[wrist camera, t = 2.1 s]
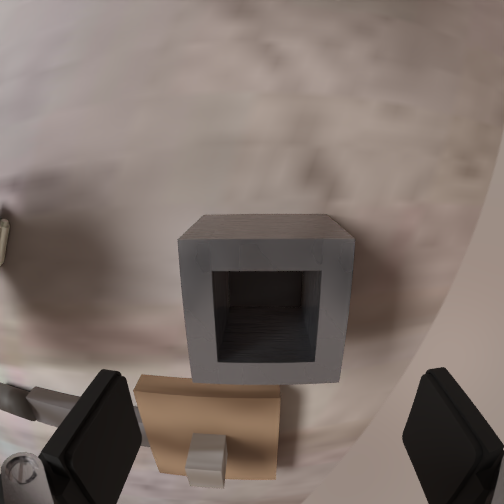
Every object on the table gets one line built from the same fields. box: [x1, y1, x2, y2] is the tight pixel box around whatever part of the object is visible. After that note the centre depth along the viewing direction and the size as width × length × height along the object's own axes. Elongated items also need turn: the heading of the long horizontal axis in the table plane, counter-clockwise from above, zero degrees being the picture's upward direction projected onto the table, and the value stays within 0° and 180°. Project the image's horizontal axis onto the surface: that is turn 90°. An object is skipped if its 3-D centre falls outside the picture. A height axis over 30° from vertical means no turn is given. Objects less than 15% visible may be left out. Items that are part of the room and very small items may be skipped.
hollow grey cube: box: [178, 214, 355, 385], centre depth 16 cm, size 7×7×6 cm
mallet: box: [0, 374, 281, 489], centre depth 21 cm, size 10×27×6 cm, turn 91°
